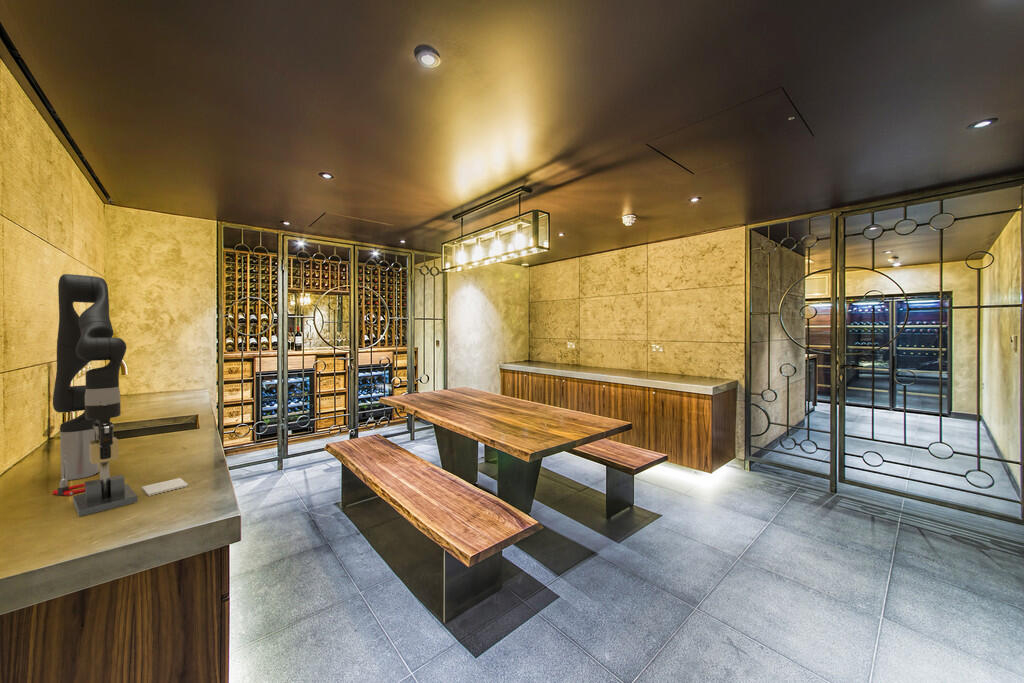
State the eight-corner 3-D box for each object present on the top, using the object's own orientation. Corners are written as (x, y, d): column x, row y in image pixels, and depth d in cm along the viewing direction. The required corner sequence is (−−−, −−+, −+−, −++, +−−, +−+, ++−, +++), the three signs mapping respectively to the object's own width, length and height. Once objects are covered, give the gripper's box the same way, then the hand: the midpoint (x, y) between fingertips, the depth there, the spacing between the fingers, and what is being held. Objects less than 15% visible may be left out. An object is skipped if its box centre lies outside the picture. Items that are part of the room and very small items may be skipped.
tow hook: (85, 485, 134) (49, 495, 125) (86, 448, 134) (51, 455, 125) (105, 487, 132) (70, 497, 123) (106, 449, 133) (72, 456, 124)
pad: (141, 489, 129) (141, 486, 129) (180, 480, 137) (180, 477, 137) (148, 496, 123) (148, 494, 123) (188, 486, 131) (188, 484, 131)
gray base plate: (73, 502, 119) (72, 462, 119) (127, 489, 129) (126, 452, 128) (79, 517, 109) (78, 473, 109) (137, 502, 119) (136, 462, 119)
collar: (89, 460, 118) (89, 440, 118) (115, 455, 123) (115, 437, 123) (92, 464, 115) (91, 444, 115) (118, 459, 119) (118, 440, 119)
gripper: (82, 401, 120) (83, 455, 120) (87, 406, 111) (89, 464, 111) (116, 398, 126) (117, 449, 126) (124, 403, 117) (125, 458, 117)
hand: (104, 456), depth 119 cm, fingers closed on collar, 5 cm apart
